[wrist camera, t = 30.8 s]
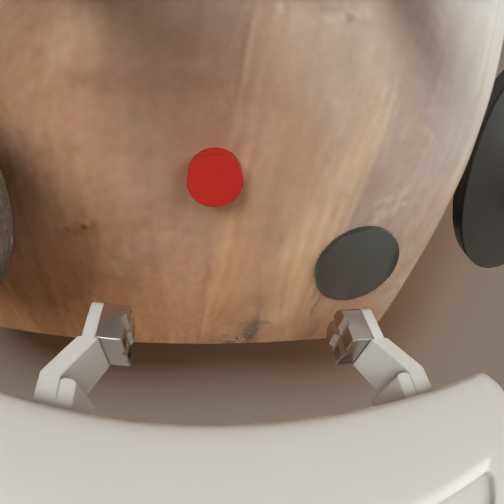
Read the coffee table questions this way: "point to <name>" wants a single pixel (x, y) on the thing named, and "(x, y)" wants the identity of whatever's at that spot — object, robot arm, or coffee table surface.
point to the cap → (214, 177)
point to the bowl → (5, 228)
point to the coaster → (356, 263)
